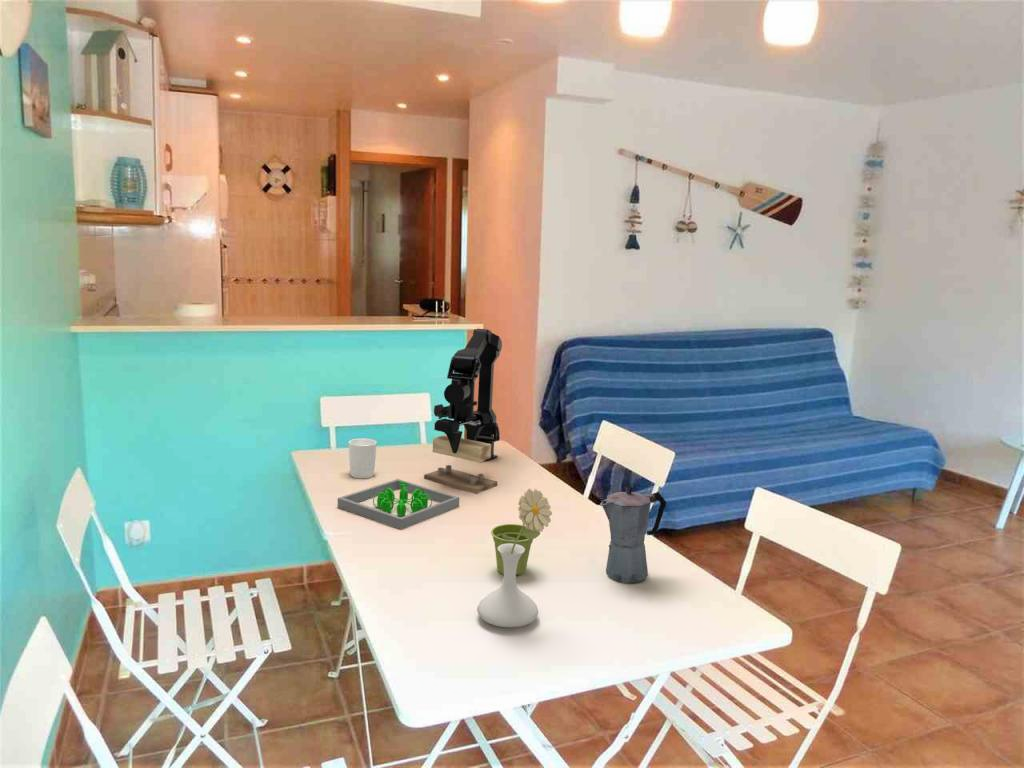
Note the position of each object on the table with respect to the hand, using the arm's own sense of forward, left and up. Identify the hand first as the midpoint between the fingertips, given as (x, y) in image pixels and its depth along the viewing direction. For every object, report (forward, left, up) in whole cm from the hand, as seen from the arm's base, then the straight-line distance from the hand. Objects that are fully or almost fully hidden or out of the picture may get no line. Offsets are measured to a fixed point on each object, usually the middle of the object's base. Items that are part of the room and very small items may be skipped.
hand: (461, 450), depth 218 cm
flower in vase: (+56, +58, -10) cm, 81 cm away
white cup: (+15, -24, -10) cm, 30 cm away
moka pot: (+24, +66, -10) cm, 70 cm away
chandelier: (+27, +3, -10) cm, 29 cm away
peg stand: (0, 0, -9) cm, 9 cm away
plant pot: (+39, +46, -10) cm, 61 cm away
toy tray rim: (+27, +2, -9) cm, 29 cm away
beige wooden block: (0, 0, -1) cm, 1 cm away
